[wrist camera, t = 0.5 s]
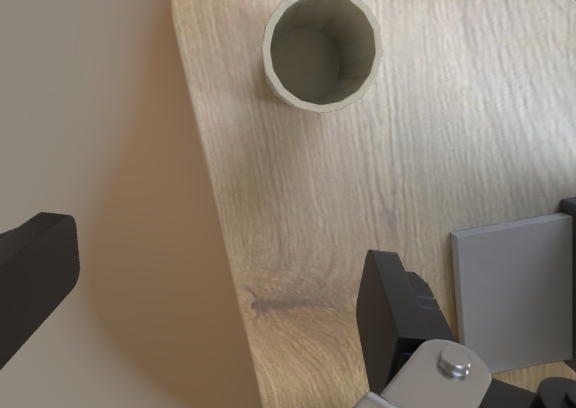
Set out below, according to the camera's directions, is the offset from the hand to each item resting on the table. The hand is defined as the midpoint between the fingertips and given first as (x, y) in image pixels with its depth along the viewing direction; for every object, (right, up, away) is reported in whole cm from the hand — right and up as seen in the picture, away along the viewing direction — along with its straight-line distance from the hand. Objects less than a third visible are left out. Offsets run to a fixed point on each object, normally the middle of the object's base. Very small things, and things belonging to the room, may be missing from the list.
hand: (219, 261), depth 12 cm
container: (+3, +11, +17) cm, 20 cm away
